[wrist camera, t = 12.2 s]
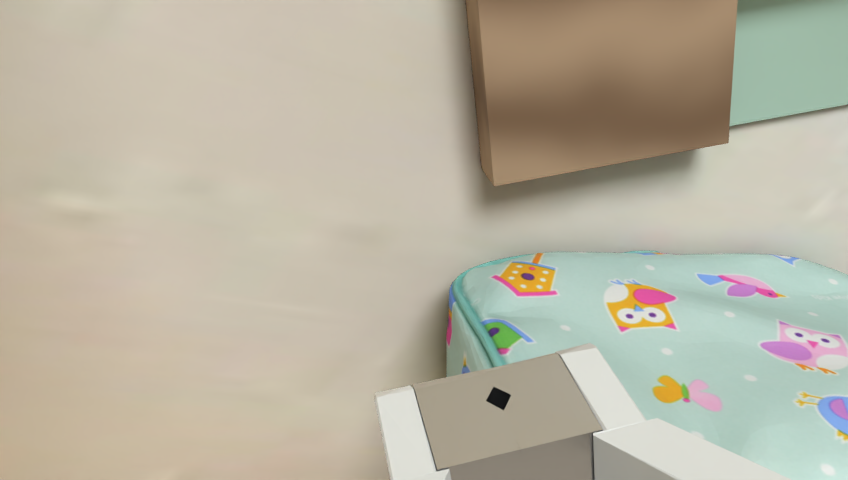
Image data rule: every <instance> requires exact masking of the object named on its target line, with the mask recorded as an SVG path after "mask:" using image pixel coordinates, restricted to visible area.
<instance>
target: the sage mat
mask: <svg viewBox="0 0 848 480" xmlns="http://www.w3.org/2000/svg"><path fill="white" fill-rule="evenodd" d="M847 104H848V0H738V3H737V18H736V34H735V49H734V64H733V80H732V95H731V110H730V126H733V125H738V124H743V123H749V122H754V121H760V120H765V119H771V118H776V117H782V116H787V115H793V114H798V113H804V112H809V111H814V110H820V109H825V108H831V107H836V106H842V105H847Z"/></svg>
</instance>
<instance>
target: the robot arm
mask: <svg viewBox="0 0 848 480" xmlns="http://www.w3.org/2000/svg"><path fill="white" fill-rule="evenodd" d="M375 405H376V410H377V415H378V420H379V425H380V430H381V435H382V440H383V445H384V450H385V455H386V460H387V465H388V470H389V475H390V480H791V479H789V478H787V477H785V476H783V475H780V474H778V473H776V472H774V471H772V470H770V469H767V468H765V467H763V466H761V465H759V464H757V463H754V462H752V461H750V460H748V459H746V458H744V457H741V456H739V455H737V454H735V453H733V452H731V451H728V450H726V449H724V448H722V447H720V446H717V445H715V444H713V443H711V442H709V441H707V440H704V439H702V438H700V437H698V436H696V435H694V434H691V433H689V432H687V431H685V430H683V429H681V428H678V427H676V426H674V425H672V424H670V423H668V422H665V421H663V420H661V419H659V418H655V419H651V420H646V419H645V417H644V416H643V414H642V413H641V411H640V410H639V408H638V407H637V405H636V404H635V402H634V401H633V400H632V398H631V397H630V395H629V394H628V392H627V391H626V389H625V388H624V386H623V385H622V383H621V382H620V380H619V379H618V378H617V376H616V375H615V373H614V372H613V370H612V369H611V367H610V366H609V364H608V363H607V361H606V360H605V358H604V357H603V355H602V354H601V353H600V351H599V350H598V348H597V347H596V346H595V345H593V344H591V343H588V344H584V345H580V346H576V347H572V348H568V349H564V350H560V351H556V352H555V353H553V354H548V355H544V356H540V357H535V358H531V359H527V360H523V361H519V362H514V363H510V364H506V365H502V366H498V367H493V368H489V369H484V370H479V371H474V372H469V373H464V374H460V375H455V376H450V377H445V378H440V379H436V380H431V381H426V382H421V383H416V384H413V388H412V386H410V385H409V386H404V387H400V388H395V389H390V390H386V391H381V392H377V393H375Z"/></svg>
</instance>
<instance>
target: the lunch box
mask: <svg viewBox="0 0 848 480" xmlns="http://www.w3.org/2000/svg"><path fill="white" fill-rule="evenodd" d="M446 342H447V376H446V377H450V376H455V375H460V374H464V373H469V372H474V371H479V370H484V369H489V368H493V367H498V366H502V365H506V364H510V363H514V362H519V361H523V360H527V359H531V358H535V357H540V356H544V355H548V354H553V353H555V352H556V351H560V350H564V349H568V348H572V347H576V346H580V345H584V344H588V343H591V344H593V345H595V346H596V347H597V348H598V350H599V351H600V353H601V354H602V355H603V357H604V358H605V360H606V361H607V363H608V364H609V366H610V367H611V369H612V370H613V372H614V373H615V375H616V376H617V378H618V379H619V380H620V382H621V383H622V385H623V386H624V388H625V389H626V391H627V392H628V394H629V395H630V397H631V398H632V400H633V401H634V402H635V404H636V405H637V407H638V408H639V410H640V411H641V413H642V414H643V416H644V417H645V419H646V420H651V419H655V418H659V419H661V420H663V421H665V422H668V423H670V424H672V425H674V426H676V427H678V428H681V429H683V430H685V431H687V432H689V433H691V434H694V435H696V436H698V437H700V438H702V439H704V440H707V441H709V442H711V443H713V444H715V445H717V446H720V447H722V448H724V449H726V450H728V451H731V452H733V453H735V454H737V455H739V456H741V457H744V458H746V459H748V460H750V461H752V462H754V463H757V464H759V465H761V466H763V467H765V468H767V469H770V470H772V471H774V472H776V473H778V474H780V475H783V476H785V477H787V478H789V479H791V480H848V275H847V274H844V273H842V272H839V271H837V270H834V269H831V268H828V267H825V266H822V265H819V264H816V263H813V262H810V261H807V260H803V259H799V258H795V257H789V256H784V255H770V254H682V255H677V254H667V253H660V252H658V251H631V252H625V253H602V252H544V253H537V254H528V255H520V256H515V257H509V258H504V259H499V260H495V261H490V262H487V263H484V264H481V265H478V266H476V267H473V268H471V269H468V270H467V271H465V272H464V273H462V274H461V275H459V276H458V277H457V279H456V280H455V281H454V282H453V283H452V285H451V287H450V291H449V319H448V328H447V338H446Z"/></svg>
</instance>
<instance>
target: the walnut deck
mask: <svg viewBox="0 0 848 480" xmlns="http://www.w3.org/2000/svg"><path fill="white" fill-rule="evenodd" d="M737 3H738V0H466V9H467V19H468V30H469V41H470V51H471V62H472V72H473V83H474V93H475V104H476V114H477V125H478V135H479V146H480V156H481V167H482V170H483V171H484V173H485V174H486V175H487V177H488V178H489V180H490V181H491V183H492V184H493V186H499V185H505V184H510V183H515V182H521V181H526V180H532V179H537V178H542V177H548V176H553V175H559V174H564V173H569V172H575V171H580V170H585V169H591V168H596V167H602V166H607V165H612V164H618V163H623V162H629V161H634V160H639V159H645V158H650V157H656V156H661V155H666V154H672V153H677V152H682V151H688V150H693V149H699V148H704V147H709V146H715V145H720V144H726V143H728V141H729V126H730V110H731V95H732V80H733V64H734V49H735V34H736V18H737Z"/></svg>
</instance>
